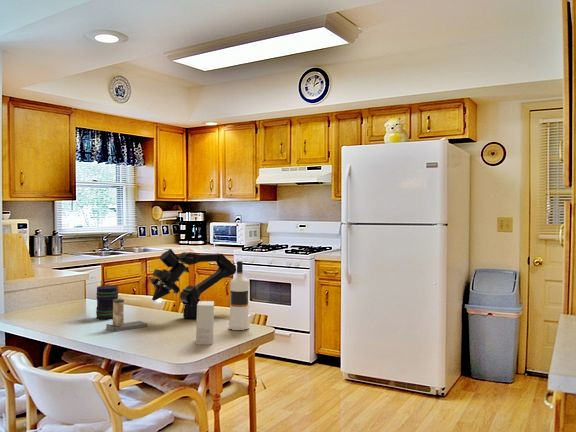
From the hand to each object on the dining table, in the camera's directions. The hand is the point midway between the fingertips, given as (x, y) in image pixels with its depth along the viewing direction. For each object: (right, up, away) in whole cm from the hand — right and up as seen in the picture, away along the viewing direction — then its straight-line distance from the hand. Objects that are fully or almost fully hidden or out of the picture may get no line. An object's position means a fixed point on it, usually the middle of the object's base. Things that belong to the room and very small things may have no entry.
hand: (152, 300), depth 224 cm
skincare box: (+29, -12, -31) cm, 44 cm away
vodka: (+40, -12, -7) cm, 42 cm away
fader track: (-9, -11, -8) cm, 17 cm away
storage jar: (-25, -11, +12) cm, 30 cm away
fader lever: (-12, -9, -11) cm, 19 cm away
